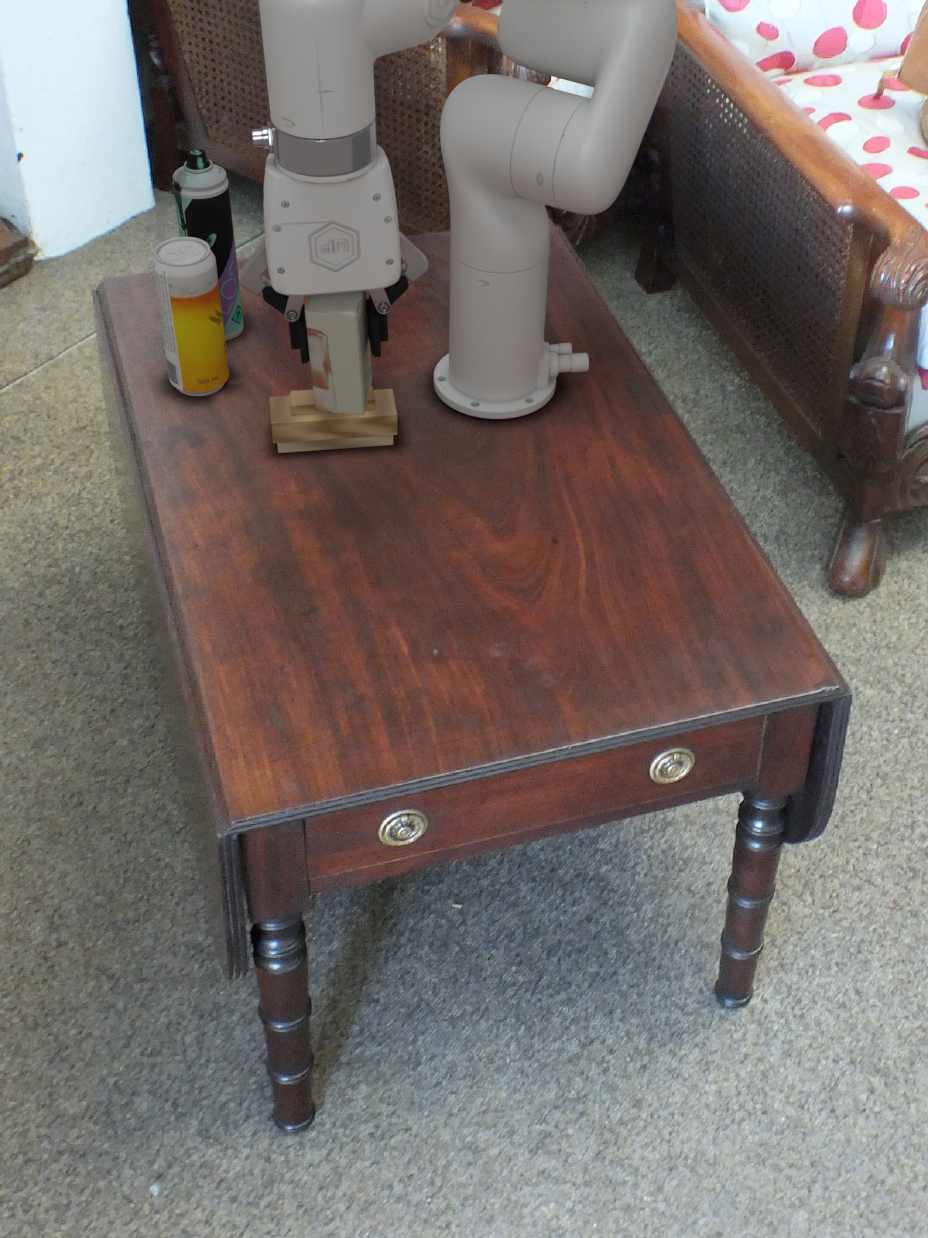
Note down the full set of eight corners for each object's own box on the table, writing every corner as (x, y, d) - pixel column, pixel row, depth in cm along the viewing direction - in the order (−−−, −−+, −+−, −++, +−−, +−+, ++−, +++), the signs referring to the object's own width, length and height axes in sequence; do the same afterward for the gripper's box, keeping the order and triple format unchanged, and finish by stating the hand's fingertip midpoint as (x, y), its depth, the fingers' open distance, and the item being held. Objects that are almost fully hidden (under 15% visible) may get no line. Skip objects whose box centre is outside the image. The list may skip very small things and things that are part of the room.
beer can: (242, 381, 142) (227, 250, 132) (195, 406, 139) (176, 273, 128) (204, 358, 145) (187, 228, 135) (158, 382, 142) (136, 250, 131)
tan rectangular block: (393, 419, 138) (392, 378, 134) (397, 446, 135) (396, 404, 131) (272, 428, 136) (268, 386, 133) (274, 455, 133) (269, 412, 130)
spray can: (222, 347, 147) (200, 169, 133) (182, 332, 149) (156, 155, 135) (254, 324, 150) (236, 148, 136) (214, 309, 152) (193, 134, 138)
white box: (322, 377, 118) (314, 274, 111) (373, 380, 118) (368, 277, 111) (311, 414, 115) (302, 310, 108) (363, 417, 114) (358, 313, 107)
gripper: (207, 174, 97) (237, 387, 110) (448, 156, 99) (449, 368, 111) (204, 125, 102) (233, 334, 115) (434, 109, 104) (436, 316, 117)
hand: (339, 348), depth 113 cm, fingers closed on white box, 5 cm apart
